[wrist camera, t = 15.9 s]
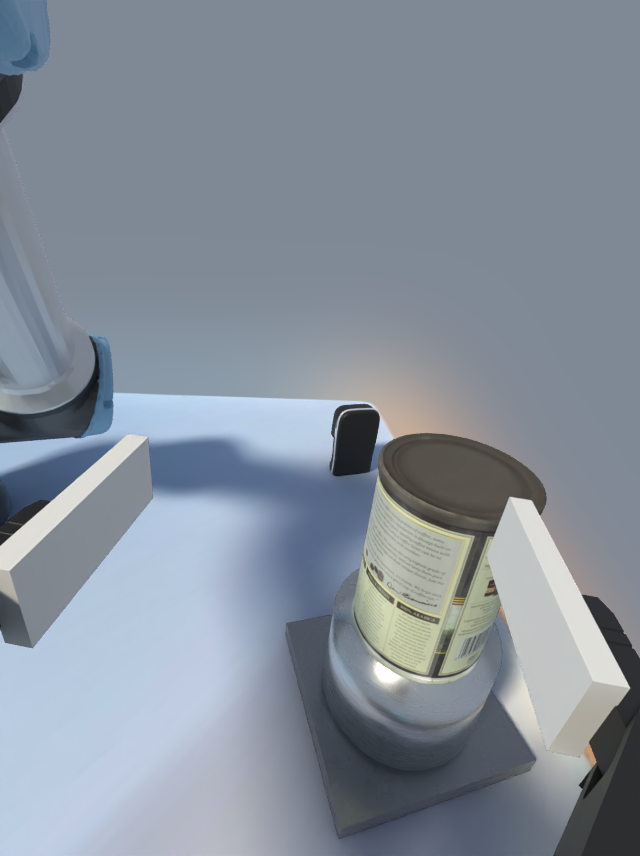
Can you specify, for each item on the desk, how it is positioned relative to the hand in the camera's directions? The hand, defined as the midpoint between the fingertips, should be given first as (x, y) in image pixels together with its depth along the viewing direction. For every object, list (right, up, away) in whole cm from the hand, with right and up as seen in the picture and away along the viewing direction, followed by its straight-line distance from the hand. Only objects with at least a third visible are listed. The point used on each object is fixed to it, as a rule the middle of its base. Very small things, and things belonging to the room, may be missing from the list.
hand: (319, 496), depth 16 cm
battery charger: (+5, -4, +55) cm, 56 cm away
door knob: (+6, -21, +22) cm, 31 cm away
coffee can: (+7, -13, +18) cm, 23 cm away
